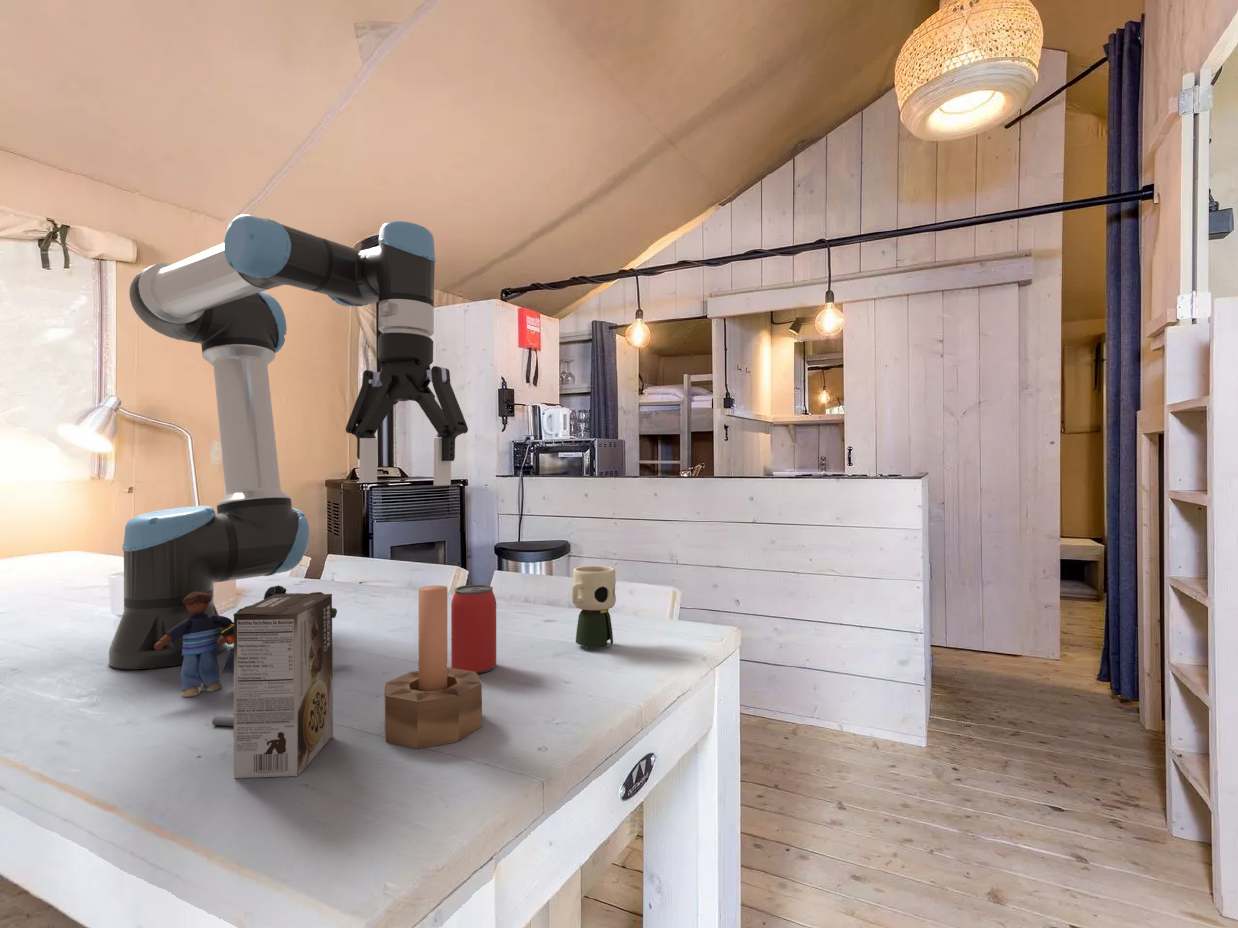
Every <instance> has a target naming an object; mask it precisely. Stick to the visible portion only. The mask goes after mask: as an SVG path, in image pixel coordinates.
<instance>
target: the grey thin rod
mask: <svg viewBox="0 0 1238 928" xmlns="http://www.w3.org/2000/svg"><path fill="white" fill-rule="evenodd" d="M211 723H212V726H223V727H234V716H228V715H227V716H225V715H215V716H214V717H213V718H212V721H211Z"/></svg>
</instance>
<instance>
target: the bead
mask: <svg viewBox="0 0 1238 928" xmlns="http://www.w3.org/2000/svg"><path fill="white" fill-rule="evenodd" d="M478 675H479V674H477V673H476V672H474V671H468V670H461V669H454V668H452V667H448V666H447V689H444V690H437V691H430V692H423V691H419V670H415V671H413V670H412V671H409V672H407V673H405V674H402V675H400V676H397V677H396V678H393V679H391V680H388V681H387V682H384V736H385V742H386V743H389V744H395V745H398V746H399V745H400V746H405V747H409V748H412V749H423V748H428V747H435V746H441V745H447V744H452V743H453V744H454V743H459V742H461V741H462V740H463V739H465V738H466V737H468V736H469V735H471V734H472V733H474V732H476V731H477V730H479V729H480V728H482V727H483V717H482V716H483V702H482V701H483V700H482V699H483V691H482V689H483V683H482V680H481V679H480V677H479V676H478Z"/></svg>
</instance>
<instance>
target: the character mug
mask: <svg viewBox="0 0 1238 928" xmlns="http://www.w3.org/2000/svg"><path fill="white" fill-rule="evenodd" d="M572 571H573V572H572V575H573V576H572V580H573V581H572V582H573V585H572V586H571V601H572V604H573V607H575V608H576V609H578V610H580V612H579V614H578V618H577V619H578V620H577V626H576V635H575V643H576V644H577V645H580V646H582V647H585V648H587V649H603V648H604V649H605V648H608V641H609V642H610V646H612V645H613V644H614V636H613V634H614V633H613V626H612V618H611V614H610V612H609V610H611V609H612V608H614V606H615V605H616V602H617V597H616V583H617V581H616V568H614V567H612V566H606V565H584V566H578V567H575V568H573V570H572Z"/></svg>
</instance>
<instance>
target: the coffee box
mask: <svg viewBox="0 0 1238 928" xmlns="http://www.w3.org/2000/svg"><path fill="white" fill-rule="evenodd" d="M248 606H249V607H247V608H245V609H243V610H241V611H239V612H237V611H236V612H235V613H233V622H234V643H233V647H234V675H233V717H234V726H233V778H235V779H252V778H253V779H255V778H280V777H281V778H283V777H284V778H285V777H298V776H300V775H301V774H302V773H303V771H304V770H305V769H306V768H307V766H308V765H309V764H310V763H311V762H312V761H313V759H314V758H315V757H316V756H317V755H318V753H319V752H320V751H321V750H322V749H323V748H324V747H325V745H326V744H327V743H328V742H329V741H330V739H331V738H332V737H333V735H334V723H333V721H334V719H333V718H334V717H333V716H334V715H333V712H334V711H333V704H334V701H333V698H334V697H333V696H334V695H333V694H334V693H333V692H334V691H333V662H334V661H333V660H334V659H333V618H332V608H333V594H332V593H324V594H309V593H303V592H302V593H299V592H298V593H297V592H295V593H292V592H291V593H286V594H275V595H273V596H270V597H268V598H266V599H264V598H263V599H262V600H260V601H257V602H256V603H254V604H251V606H250V605H248Z"/></svg>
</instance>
